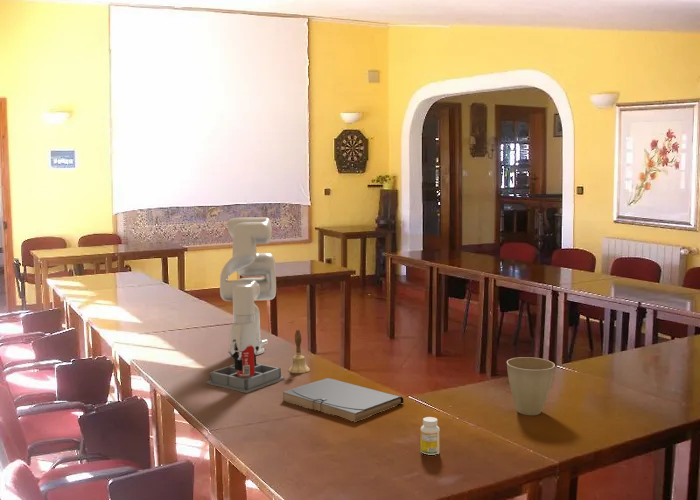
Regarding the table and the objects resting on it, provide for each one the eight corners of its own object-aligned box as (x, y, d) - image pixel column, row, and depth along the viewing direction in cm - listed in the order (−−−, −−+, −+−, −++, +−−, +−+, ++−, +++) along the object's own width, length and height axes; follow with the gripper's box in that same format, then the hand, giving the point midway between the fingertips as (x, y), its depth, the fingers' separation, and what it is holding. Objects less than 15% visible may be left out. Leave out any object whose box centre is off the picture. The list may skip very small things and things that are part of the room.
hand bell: (284, 372, 294) (283, 331, 292) (294, 366, 301) (293, 326, 299) (304, 374, 291) (303, 333, 289) (313, 368, 298) (312, 328, 296)
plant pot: (527, 422, 236) (527, 372, 234) (496, 408, 249) (497, 360, 247) (564, 414, 242) (565, 365, 240) (532, 401, 256) (533, 354, 253)
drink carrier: (245, 370, 296) (245, 359, 296) (284, 379, 285) (284, 367, 284) (206, 383, 280) (206, 372, 280) (246, 393, 269) (246, 381, 268)
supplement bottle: (432, 458, 210) (432, 424, 208) (416, 453, 213) (416, 419, 212) (443, 452, 214) (443, 418, 213) (427, 447, 217) (427, 414, 216)
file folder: (281, 391, 259) (331, 376, 277) (282, 402, 259) (331, 387, 277) (354, 412, 237) (403, 394, 255) (354, 425, 237) (403, 406, 255)
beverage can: (256, 374, 279) (255, 342, 277) (252, 379, 273) (251, 346, 271) (239, 374, 280) (238, 342, 278) (235, 379, 273) (234, 346, 272)
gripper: (253, 313, 283) (254, 360, 285) (218, 321, 269) (220, 371, 271) (268, 315, 278) (269, 363, 280) (234, 324, 264) (235, 375, 267)
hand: (245, 367), depth 276 cm, fingers closed on beverage can, 6 cm apart
